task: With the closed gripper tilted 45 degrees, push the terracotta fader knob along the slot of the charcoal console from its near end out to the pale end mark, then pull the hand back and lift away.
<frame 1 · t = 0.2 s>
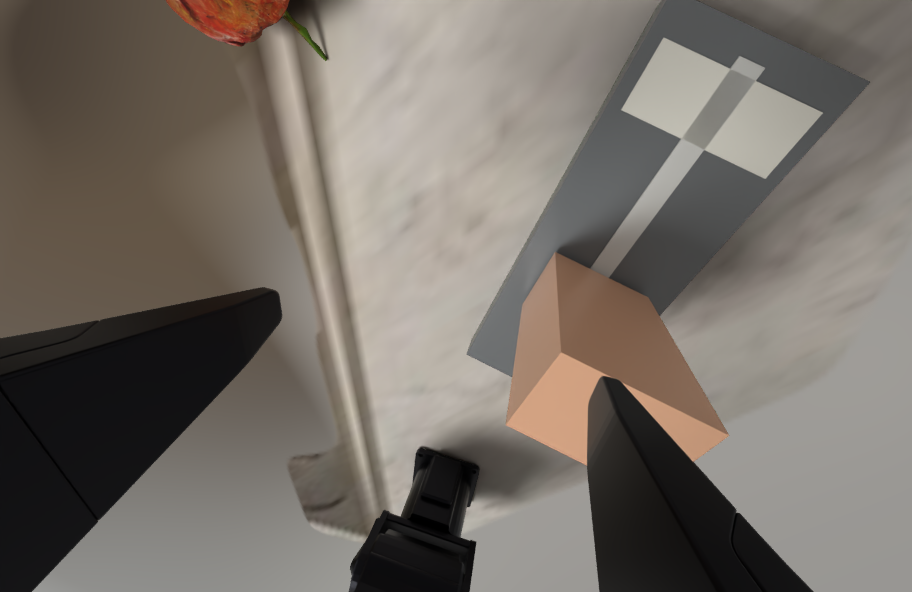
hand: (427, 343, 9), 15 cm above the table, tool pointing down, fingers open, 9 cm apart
console: (605, 246, 21), on the table
fader knob: (591, 348, 16), point 7 cm above the table, slide at 0.0 cm
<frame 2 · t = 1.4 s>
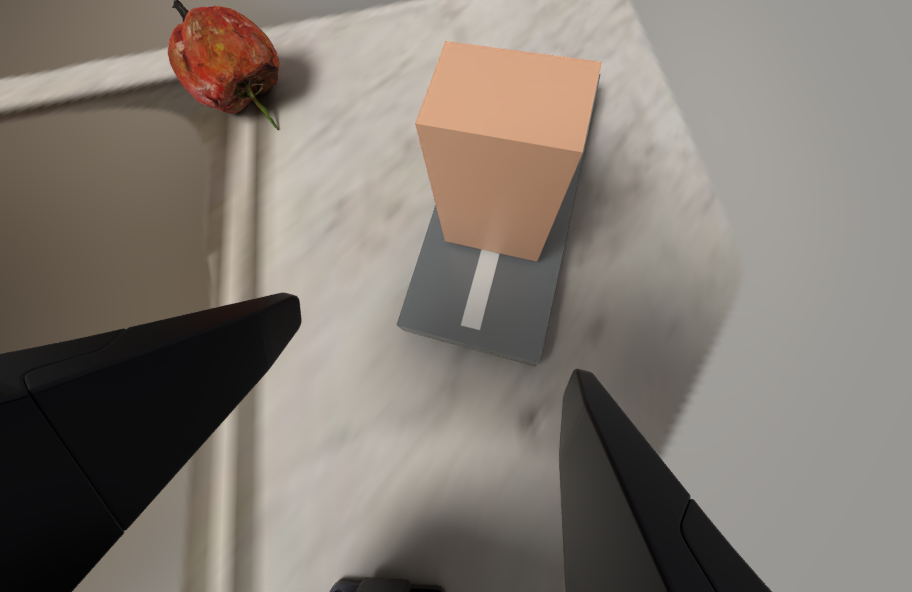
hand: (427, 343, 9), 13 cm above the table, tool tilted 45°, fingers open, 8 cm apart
console: (505, 204, 25), on the table
pomegranate: (260, 104, 30), on the table
fader knob: (501, 176, 17), point 8 cm above the table, slide at 0.0 cm
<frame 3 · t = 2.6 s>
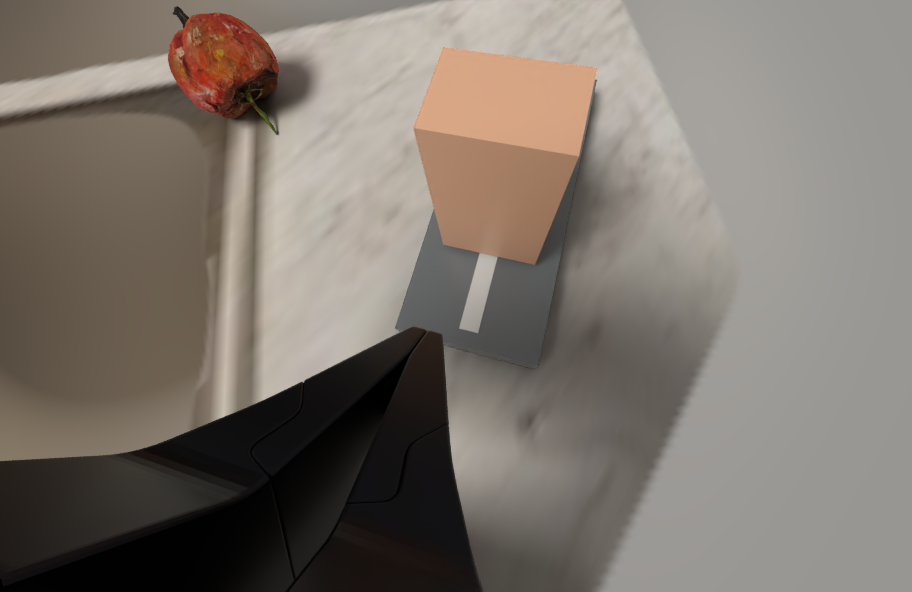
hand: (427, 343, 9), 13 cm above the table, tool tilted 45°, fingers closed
console: (503, 207, 25), on the table
pomegranate: (259, 109, 30), on the table
fader knob: (499, 180, 17), point 8 cm above the table, slide at 0.0 cm
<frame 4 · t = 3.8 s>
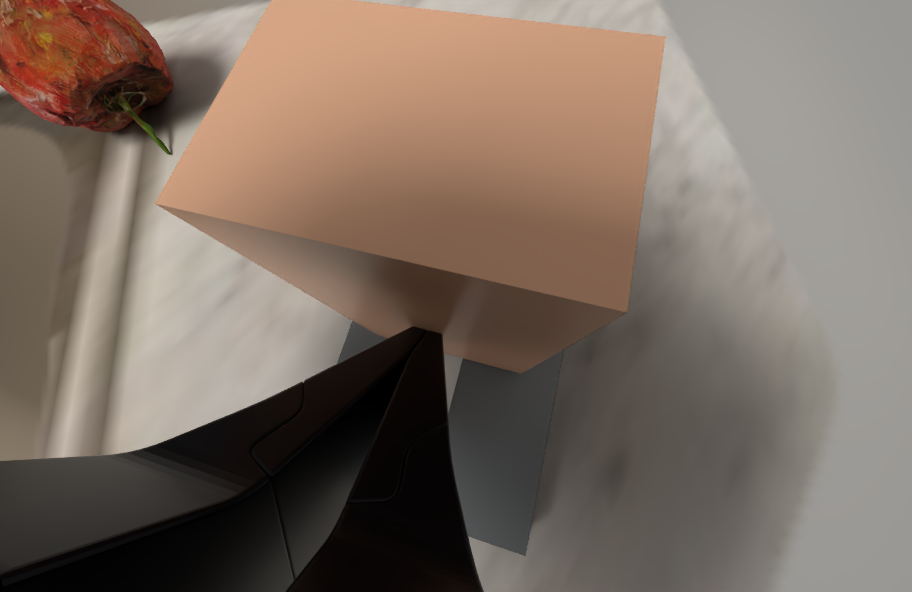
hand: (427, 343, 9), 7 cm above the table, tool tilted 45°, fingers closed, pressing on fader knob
console: (478, 265, 17), on the table
pomegranate: (152, 119, 22), on the table
fader knob: (449, 261, 9), point 7 cm above the table, slide at 0.0 cm, touching gripper
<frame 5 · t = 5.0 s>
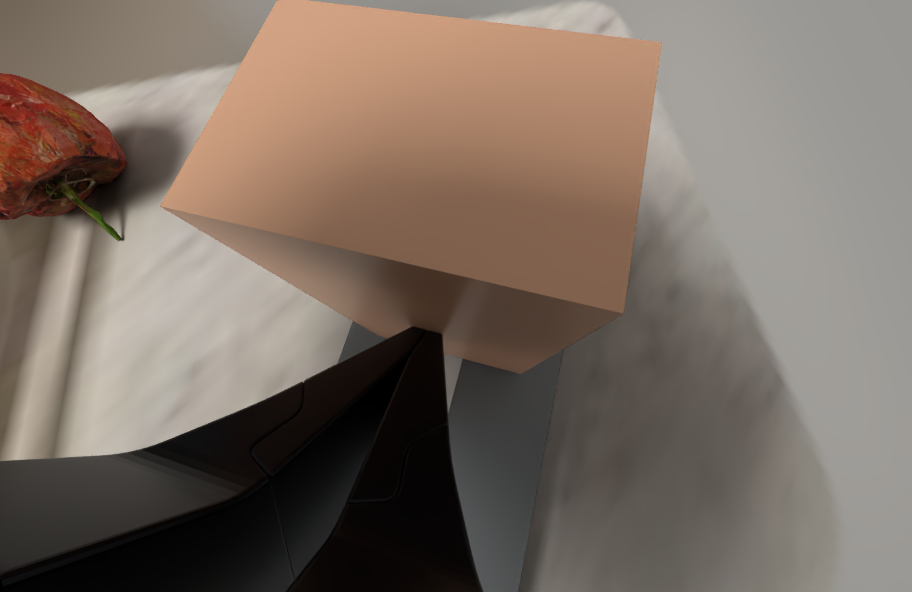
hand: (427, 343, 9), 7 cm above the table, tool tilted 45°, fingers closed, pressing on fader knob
console: (446, 381, 16), on the table
pomegranate: (105, 197, 21), on the table
fader knob: (449, 262, 9), point 8 cm above the table, slide at 6.0 cm, touching gripper
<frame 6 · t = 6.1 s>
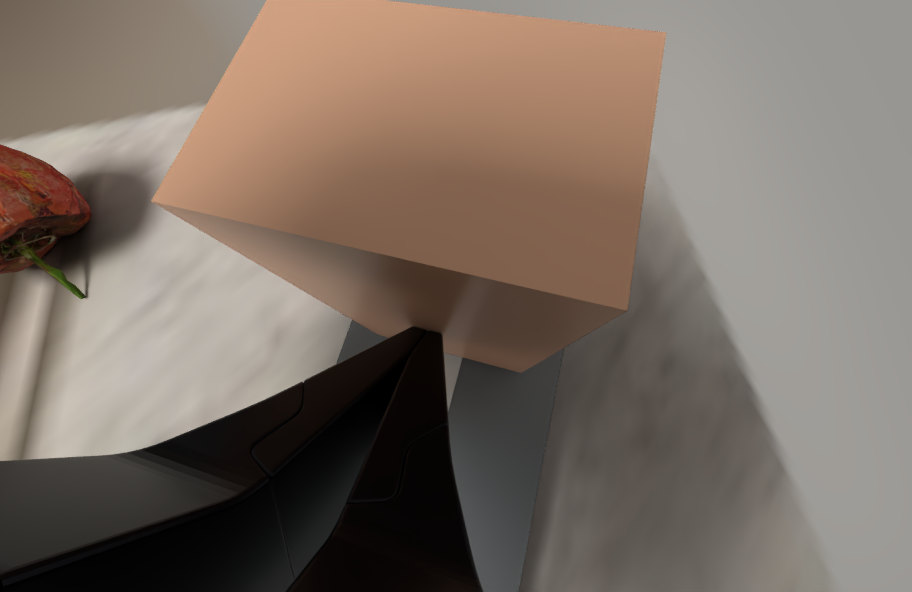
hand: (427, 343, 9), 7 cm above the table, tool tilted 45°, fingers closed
console: (424, 463, 15), on the table
pomegranate: (70, 248, 20), on the table
fader knob: (448, 260, 9), point 8 cm above the table, slide at 9.6 cm
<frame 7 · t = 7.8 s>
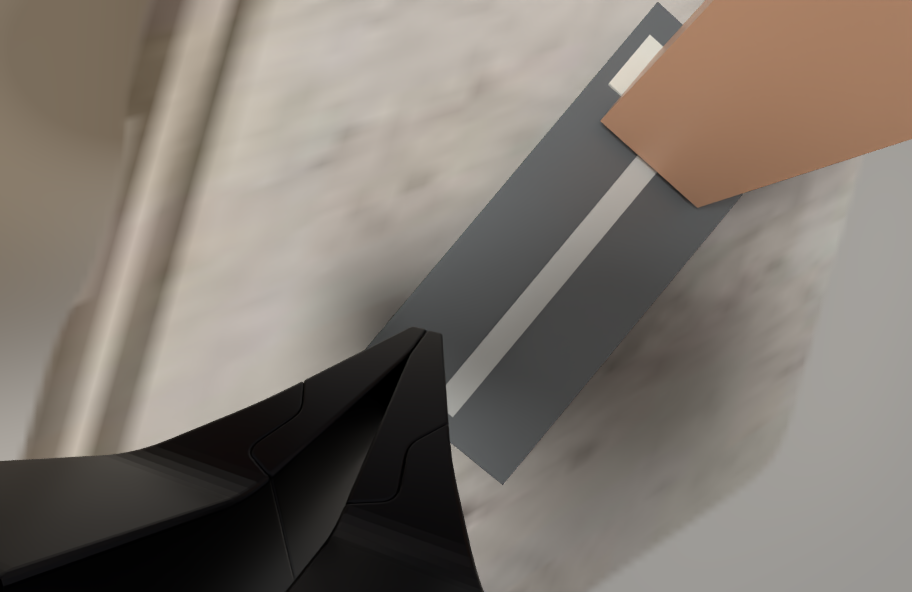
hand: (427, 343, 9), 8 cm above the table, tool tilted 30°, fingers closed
console: (564, 249, 18), on the table
fader knob: (790, 55, 10), point 7 cm above the table, slide at 9.6 cm
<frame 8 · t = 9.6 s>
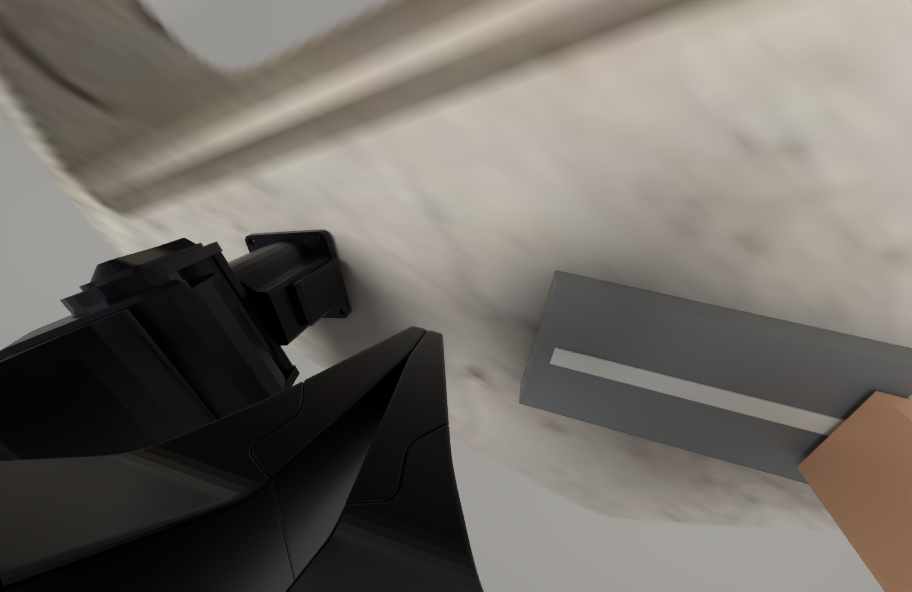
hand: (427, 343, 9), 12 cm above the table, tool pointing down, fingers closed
console: (717, 377, 20), on the table
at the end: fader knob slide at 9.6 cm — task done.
